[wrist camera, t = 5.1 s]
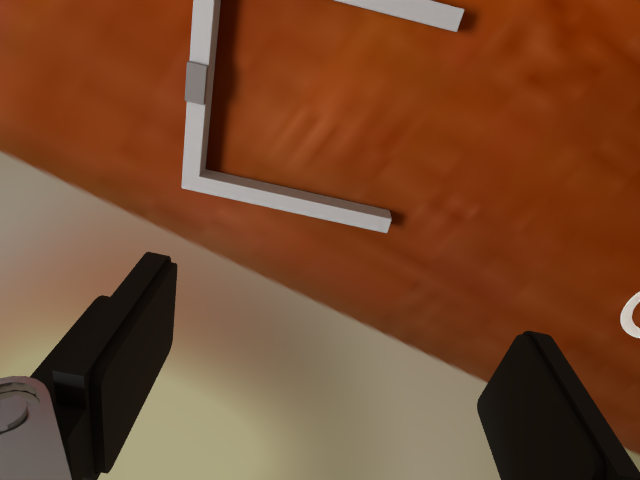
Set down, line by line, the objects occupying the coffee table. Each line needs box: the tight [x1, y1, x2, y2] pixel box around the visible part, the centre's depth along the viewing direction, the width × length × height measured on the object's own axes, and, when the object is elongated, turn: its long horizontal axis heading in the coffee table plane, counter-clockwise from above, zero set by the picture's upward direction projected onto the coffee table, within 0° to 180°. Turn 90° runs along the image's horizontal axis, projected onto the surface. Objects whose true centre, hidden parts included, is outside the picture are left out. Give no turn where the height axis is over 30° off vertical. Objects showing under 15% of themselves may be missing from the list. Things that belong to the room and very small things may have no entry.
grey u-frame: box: [182, 0, 464, 233], centre depth 35 cm, size 19×20×3 cm
